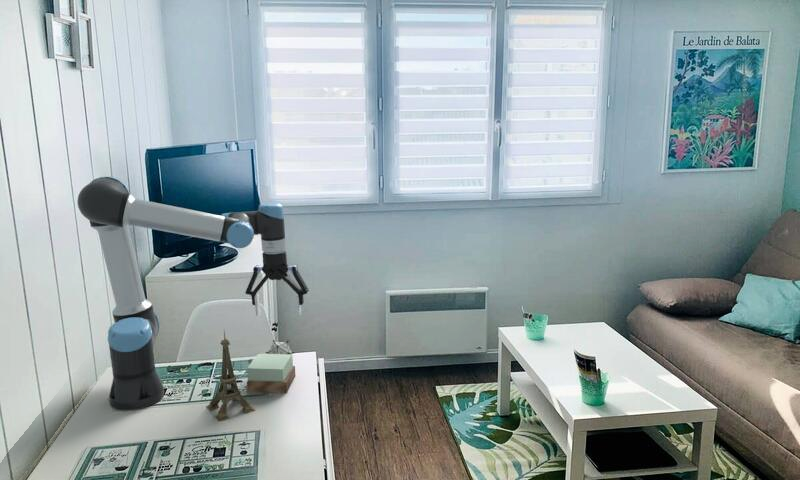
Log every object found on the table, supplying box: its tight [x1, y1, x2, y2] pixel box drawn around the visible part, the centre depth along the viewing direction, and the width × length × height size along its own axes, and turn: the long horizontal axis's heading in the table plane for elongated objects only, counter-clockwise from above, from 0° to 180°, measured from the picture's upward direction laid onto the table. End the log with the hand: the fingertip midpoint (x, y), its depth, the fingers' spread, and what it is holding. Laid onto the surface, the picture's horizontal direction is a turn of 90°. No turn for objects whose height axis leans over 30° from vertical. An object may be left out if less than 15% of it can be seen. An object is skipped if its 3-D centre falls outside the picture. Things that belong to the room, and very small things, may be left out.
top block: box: [246, 353, 294, 382], centre depth 202 cm, size 11×11×4 cm
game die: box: [265, 339, 295, 355], centre depth 216 cm, size 9×8×10 cm
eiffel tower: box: [206, 330, 256, 422], centre depth 185 cm, size 11×11×25 cm
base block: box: [246, 365, 296, 394], centre depth 202 cm, size 12×12×4 cm
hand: (278, 314), depth 213 cm, fingers open, 13 cm apart
